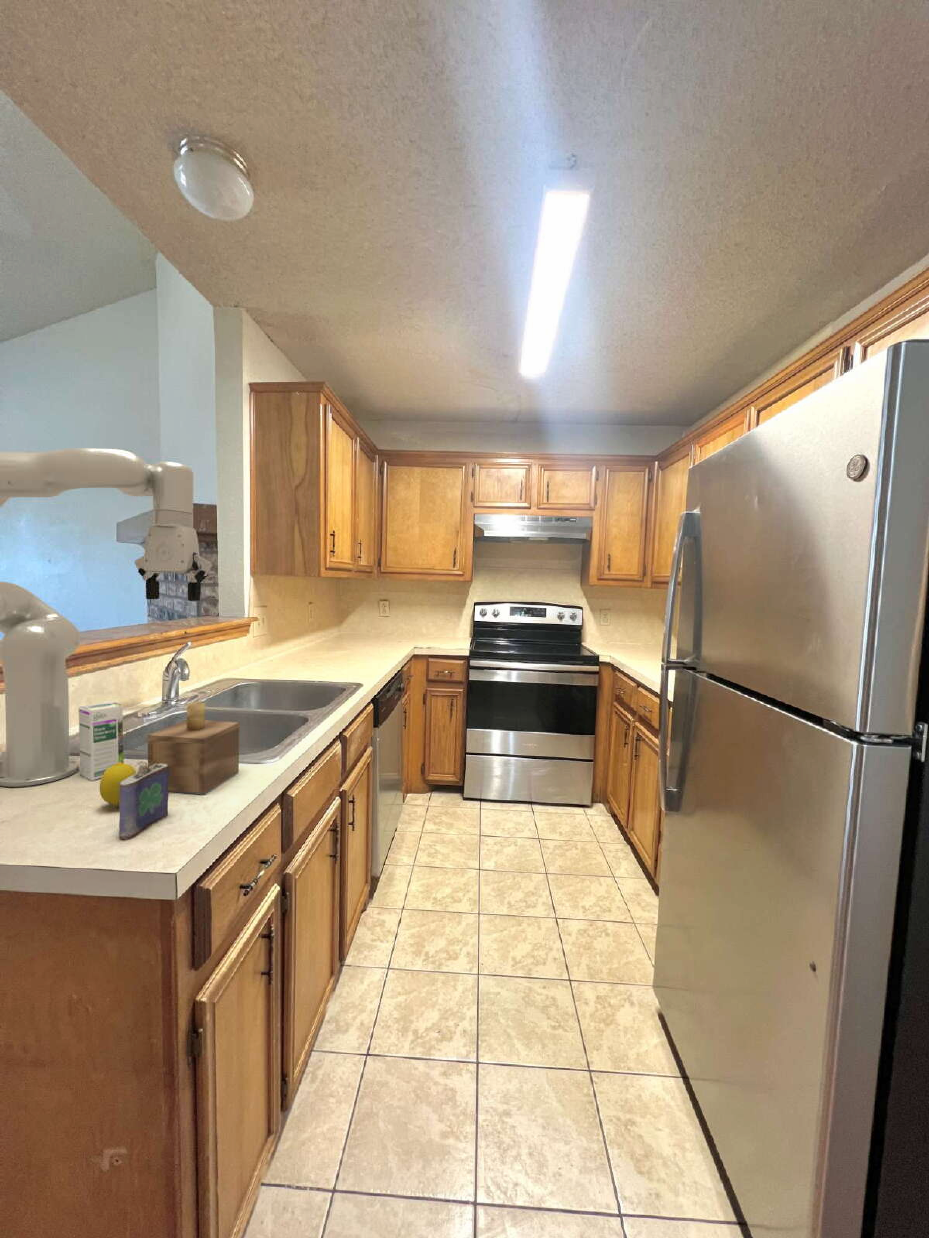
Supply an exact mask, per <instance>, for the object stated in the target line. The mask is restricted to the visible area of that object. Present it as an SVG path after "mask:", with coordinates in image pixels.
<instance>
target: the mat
mask: <svg viewBox="0 0 929 1238" xmlns="http://www.w3.org/2000/svg"><path fill="white" fill-rule="evenodd" d="M237 774H239V771H238V772H236V773H234V774H233V775H231V776H230V777H228V778H227V779H225V780H224V781H222V782H221V783H219V784H218V785H216V786H214V787H213V788H211V789H210V790H208V791H207V792H205V793H195V792H183V791H170V790H168V793H169V792H170V793H183V794H194V795H205V796H206V794H208V793H210V792H212V790H215V789H216V788H218V787H219V786H220V785H222V784H224V783H226V782H227V781H228V780H230V779H231V778H233V777H234V776H236V775H237Z"/></svg>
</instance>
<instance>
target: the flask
mask: <svg viewBox="0 0 929 1238" xmlns="http://www.w3.org/2000/svg"><path fill="white" fill-rule="evenodd" d="M138 765H139V766H138ZM148 765H149V764H148V761H144V760H140V761H138V762H137V764H135V767H137V766H138V769H137V771H136V774H134V775H132V776H130V777H128V778H127V779H125V780H123V781H122V782H120V784H119V790H120V791H119V797H120V801H119V806H118V807H119V809H118V811H119V823H118V829H119V830H118V837H119V839H120V840H126V841H127V840H129V839H130V838H135V837H137V836H138V835H140V834H141V833H143V832H144V831H147V830H148V829H150V828H151V827H152V826H153V825H154V824H157V823H158V822H159V821H162V820H163V819H165V818H168V816H169V809H168V808H169V807H168V806H169V804H168V802H169V794H170V793H169V792H168V777H169V765H168V764H154V765H153V766H150V767H148Z"/></svg>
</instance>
